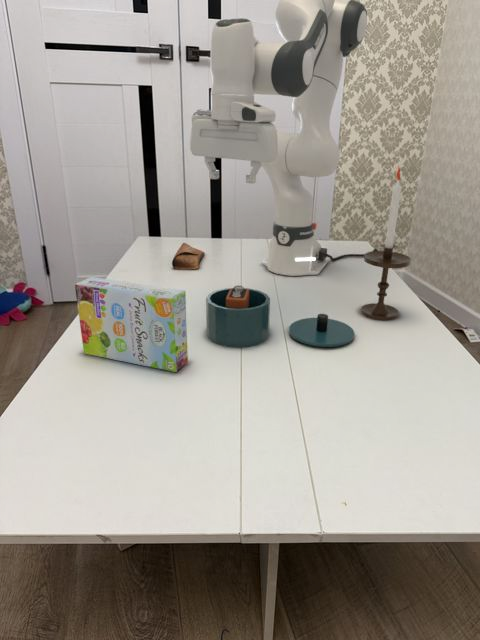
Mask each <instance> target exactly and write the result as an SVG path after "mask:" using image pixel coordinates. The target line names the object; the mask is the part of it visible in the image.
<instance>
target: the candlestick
mask: <svg viewBox="0 0 480 640" xmlns="http://www.w3.org/2000/svg"><path fill="white" fill-rule="evenodd" d="M401 171H402V170H401V168H400V165H398V166H397V171H396V183H395V185H394V186H392V192H391V199H390V205H389V206H390V207H389V213H388V219H387V220H388V221H387V228H386V235H385V243H383V244H380V245H379V246H380V247H381V248H383V250H378V251H373V250H371V251H368V252H365V253H364V254H365V255H364V257H363V261H364V263H366V264H368V265H371V266H374V267H379V268H381V269H382V272H381V279H380V281H379V282H377V287H378V289H379V290H378V291H377V292H376V295H377V296H378V300H377V303H375V302H374V303H366V304H364V305H362V306H361V310H360V311H361V312H360V313H361V314H362V315H363V317H366V318H369V319H371V320H376V321H392V320H395V319H397V318H398V317H399V310H398V309H397V308H396V307H394V306H392V305H389V304H385V298H386V297H387V296H388V293H386V291H387V290H388V288H389V287H390V283H389V282H388V275H389V269H404V268H407V267H409V266H410V265H411V260H412V259H411V257H410V256H408V255H407V254H404V253H401V252H396V251H394V249H397V248H398V246H397V245H395V244H394V242H395V237H396V228H397V223H398V222H397V221H398V216H399V215H398V214H399V209H400V202H401V194H402V189H403V188H402V187H401V183H400V182H401V181H400V180H401Z"/></svg>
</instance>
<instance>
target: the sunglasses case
mask: <svg viewBox="0 0 480 640" xmlns="http://www.w3.org/2000/svg"><path fill="white" fill-rule="evenodd" d="M204 256H205V252H204V251H203V250H200V249H198V248H195V247H192V246H191V245H190V244H188V243H186V242H182V243H181V245H180V246H179V248H178V250H177V251H176V252H175V254H174V256H173V259H172V261H171V265H172V267H173V268H174V269H175V270H182V271H183V270H185V271H186V270H187V271H188V270H198V269H199V268H200V262H201V261H202V258H203V257H204Z"/></svg>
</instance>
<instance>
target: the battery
mask: <svg viewBox="0 0 480 640" xmlns="http://www.w3.org/2000/svg"><path fill="white" fill-rule="evenodd" d="M230 288H231V289H230V290H229V293H228V295H227V297H226V308H233V309H244V308H249V290H248V289H244V288H245V287H244V286H243V285H239V284H237V285H234V286H233V287H230Z"/></svg>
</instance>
